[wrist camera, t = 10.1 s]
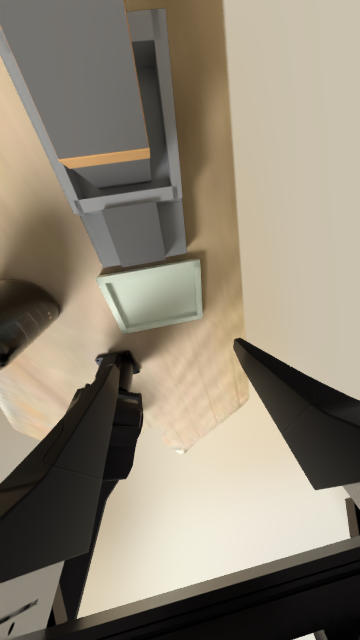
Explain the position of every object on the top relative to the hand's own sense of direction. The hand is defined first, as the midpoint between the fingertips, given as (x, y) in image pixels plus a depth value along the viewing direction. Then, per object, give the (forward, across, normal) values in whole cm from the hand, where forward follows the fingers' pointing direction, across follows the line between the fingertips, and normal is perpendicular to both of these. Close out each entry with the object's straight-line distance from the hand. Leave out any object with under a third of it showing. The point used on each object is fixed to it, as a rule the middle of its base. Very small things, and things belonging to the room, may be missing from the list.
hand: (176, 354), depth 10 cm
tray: (+12, +2, 0) cm, 12 cm away
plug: (+10, +2, -13) cm, 17 cm away
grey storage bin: (+12, +2, -11) cm, 17 cm away
